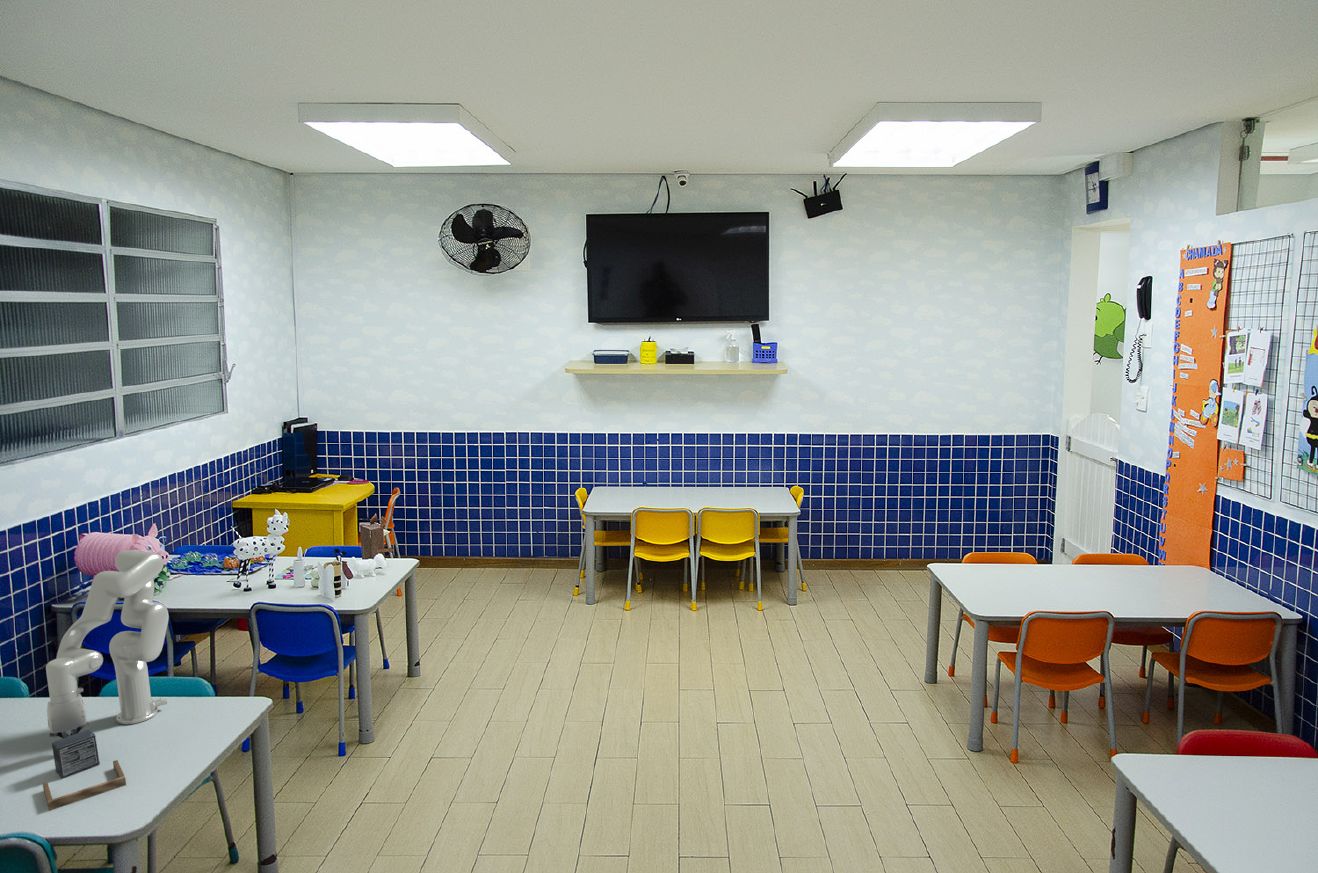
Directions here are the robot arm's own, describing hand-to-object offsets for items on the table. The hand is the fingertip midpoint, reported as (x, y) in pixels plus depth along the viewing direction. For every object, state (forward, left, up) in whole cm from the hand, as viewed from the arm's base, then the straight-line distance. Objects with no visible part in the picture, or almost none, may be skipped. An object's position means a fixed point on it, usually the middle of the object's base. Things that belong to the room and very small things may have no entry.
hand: (71, 747), depth 277 cm
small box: (0, +13, -2) cm, 13 cm away
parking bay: (0, +27, -2) cm, 27 cm away
